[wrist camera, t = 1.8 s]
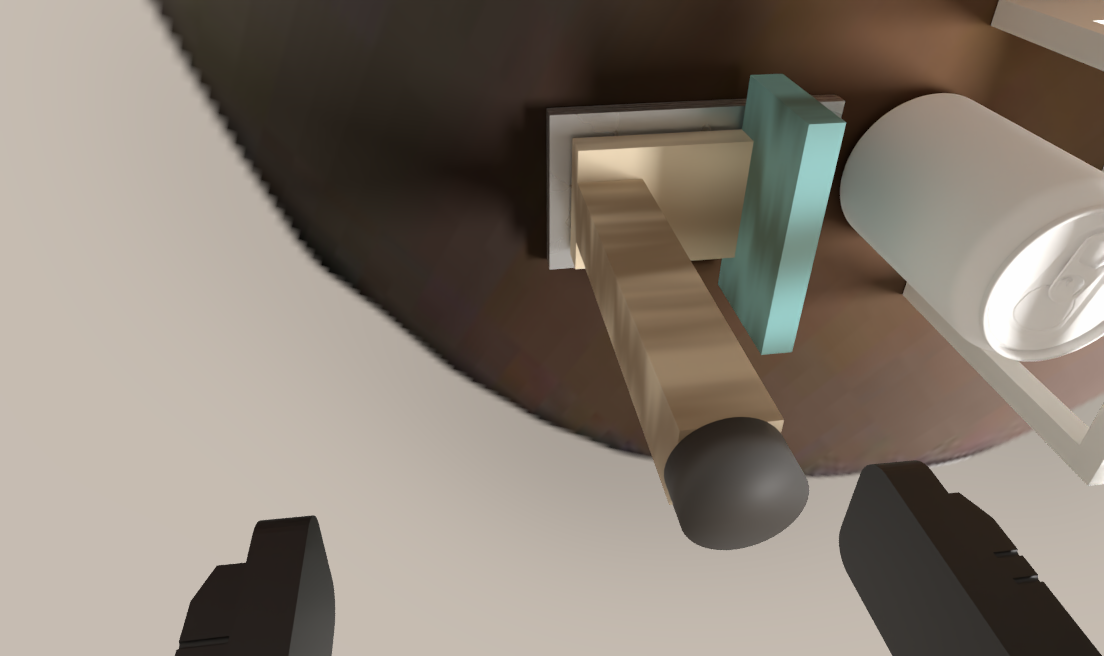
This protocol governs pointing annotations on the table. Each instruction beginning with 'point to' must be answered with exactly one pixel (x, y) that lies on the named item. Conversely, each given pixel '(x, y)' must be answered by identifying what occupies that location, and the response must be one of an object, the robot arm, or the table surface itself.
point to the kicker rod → (688, 308)
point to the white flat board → (621, 123)
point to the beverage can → (983, 224)
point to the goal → (1100, 41)
